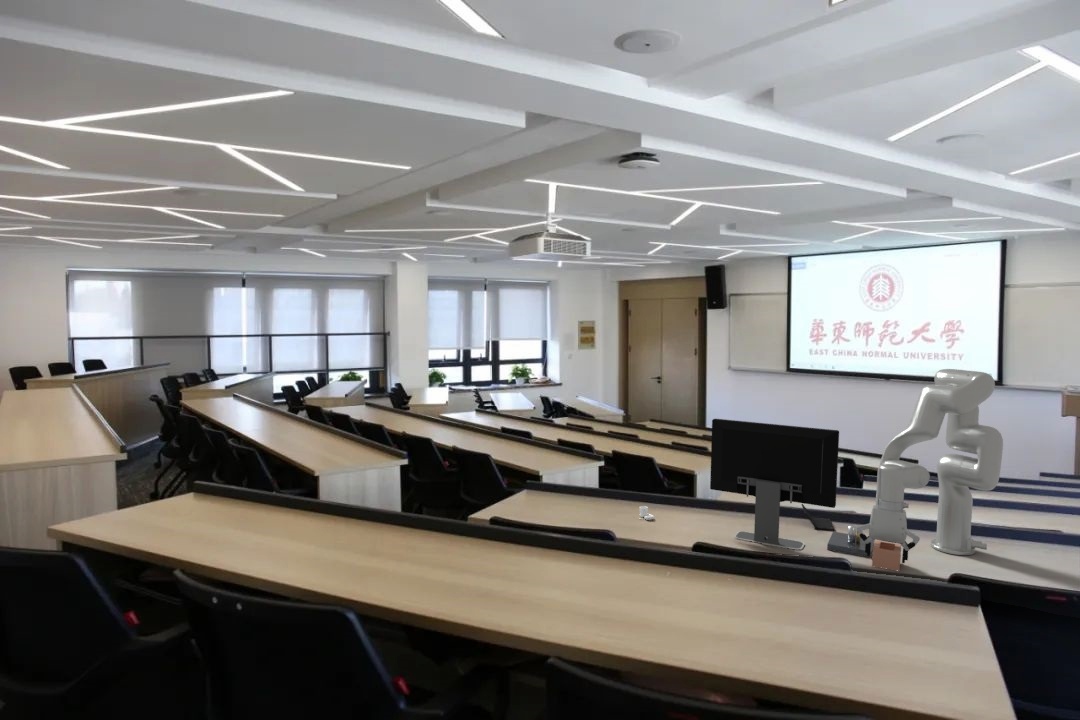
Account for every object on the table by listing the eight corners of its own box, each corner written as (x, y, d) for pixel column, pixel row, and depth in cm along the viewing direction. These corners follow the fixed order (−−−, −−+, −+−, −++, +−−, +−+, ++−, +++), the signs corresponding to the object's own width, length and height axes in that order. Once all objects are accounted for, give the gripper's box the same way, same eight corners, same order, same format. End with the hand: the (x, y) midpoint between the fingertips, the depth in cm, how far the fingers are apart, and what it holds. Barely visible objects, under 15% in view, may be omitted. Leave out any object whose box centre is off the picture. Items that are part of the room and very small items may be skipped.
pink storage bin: (873, 558, 211) (874, 540, 211) (900, 563, 208) (901, 544, 207) (872, 566, 205) (873, 547, 204) (899, 571, 201) (900, 552, 201)
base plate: (874, 544, 224) (875, 523, 223) (871, 557, 212) (872, 536, 211) (832, 536, 231) (833, 517, 230) (827, 549, 219) (828, 529, 218)
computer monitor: (834, 548, 220) (840, 429, 216) (831, 556, 213) (836, 433, 209) (712, 526, 241) (715, 417, 237) (705, 533, 233) (708, 421, 230)
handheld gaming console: (841, 527, 236) (821, 501, 237) (823, 540, 237) (803, 514, 238) (830, 520, 249) (811, 496, 250) (812, 533, 249) (794, 508, 250)
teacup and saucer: (656, 522, 246) (656, 511, 246) (634, 521, 246) (634, 511, 246) (652, 514, 255) (652, 504, 255) (632, 514, 255) (632, 503, 255)
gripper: (921, 506, 203) (918, 560, 205) (859, 497, 212) (856, 549, 214) (921, 512, 197) (917, 568, 198) (857, 503, 206) (853, 556, 207)
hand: (885, 558), depth 206 cm, fingers open, 9 cm apart
